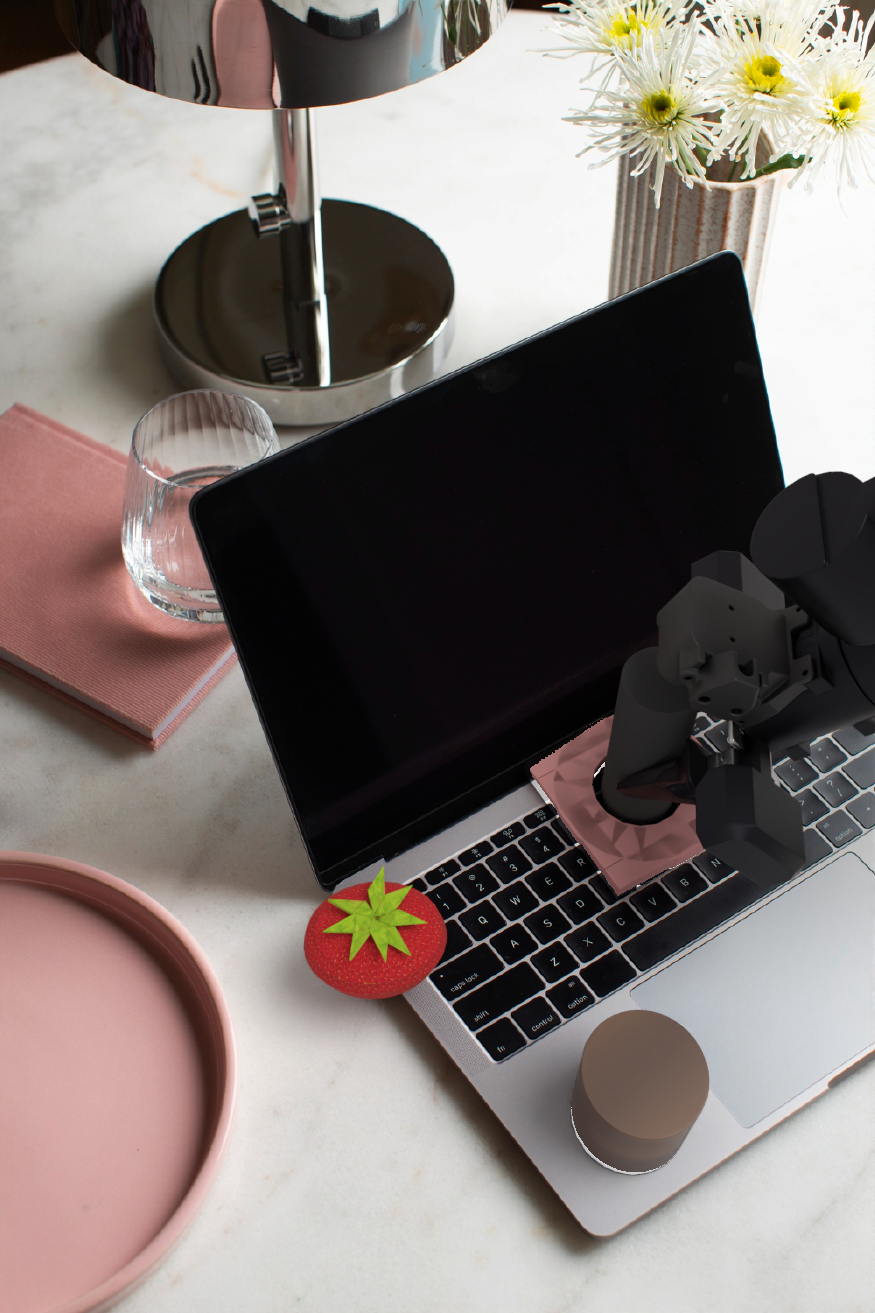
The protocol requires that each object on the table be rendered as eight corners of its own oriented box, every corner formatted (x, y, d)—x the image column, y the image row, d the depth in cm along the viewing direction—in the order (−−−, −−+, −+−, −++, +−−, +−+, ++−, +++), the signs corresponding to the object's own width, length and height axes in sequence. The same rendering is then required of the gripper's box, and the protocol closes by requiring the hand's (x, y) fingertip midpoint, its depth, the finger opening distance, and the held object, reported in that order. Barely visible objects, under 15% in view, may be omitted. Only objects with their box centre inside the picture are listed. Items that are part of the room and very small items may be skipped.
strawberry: (312, 935, 65) (290, 855, 57) (442, 920, 65) (438, 838, 57) (316, 1037, 62) (294, 967, 54) (454, 1021, 62) (452, 949, 54)
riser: (710, 1134, 58) (736, 1095, 53) (614, 1199, 56) (631, 1165, 51) (640, 1034, 61) (657, 987, 56) (547, 1092, 60) (555, 1050, 54)
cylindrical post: (676, 824, 68) (710, 713, 59) (603, 825, 68) (625, 713, 59) (668, 762, 71) (699, 645, 61) (597, 762, 71) (617, 646, 61)
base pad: (753, 822, 69) (758, 810, 68) (616, 903, 66) (618, 892, 65) (651, 703, 74) (654, 690, 73) (520, 773, 71) (520, 760, 70)
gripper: (764, 438, 58) (539, 565, 68) (788, 743, 47) (515, 843, 57) (878, 552, 64) (654, 654, 74) (923, 850, 53) (653, 923, 62)
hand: (621, 755), depth 66 cm, fingers closed on cylindrical post, 4 cm apart
